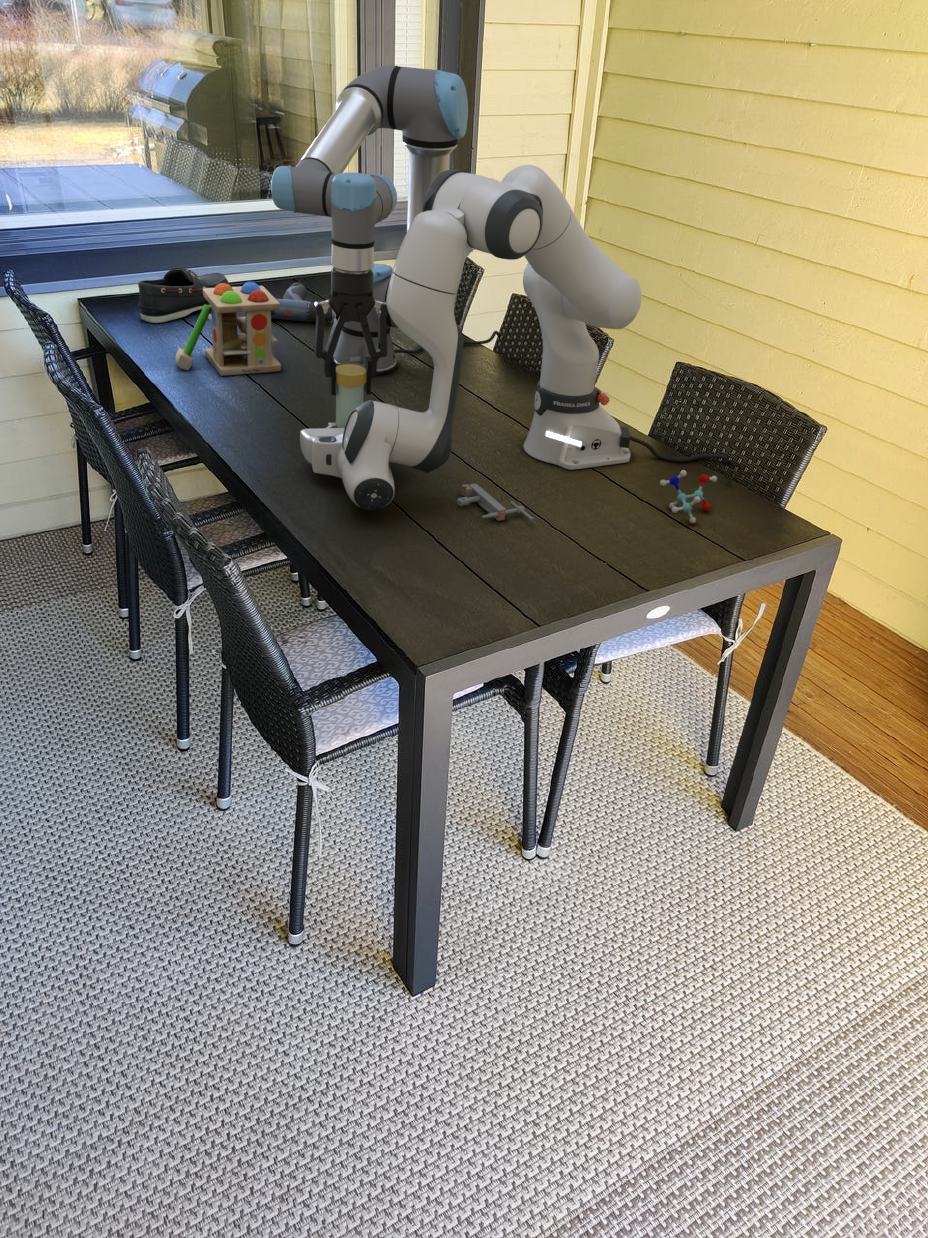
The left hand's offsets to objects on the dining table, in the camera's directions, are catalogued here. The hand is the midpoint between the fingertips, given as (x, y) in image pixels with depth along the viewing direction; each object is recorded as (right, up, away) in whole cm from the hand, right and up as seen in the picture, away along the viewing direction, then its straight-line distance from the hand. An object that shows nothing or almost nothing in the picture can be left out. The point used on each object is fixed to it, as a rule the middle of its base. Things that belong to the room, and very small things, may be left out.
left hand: (350, 391), depth 188 cm
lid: (0, +3, -2) cm, 4 cm away
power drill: (-21, +40, +79) cm, 91 cm away
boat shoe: (-52, +40, +75) cm, 100 cm away
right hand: (-1, -5, +5) cm, 7 cm away
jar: (-1, -11, +8) cm, 13 cm away
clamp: (+27, -24, -7) cm, 36 cm away
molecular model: (+64, -23, 0) cm, 68 cm away
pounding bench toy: (-34, +16, +43) cm, 57 cm away
